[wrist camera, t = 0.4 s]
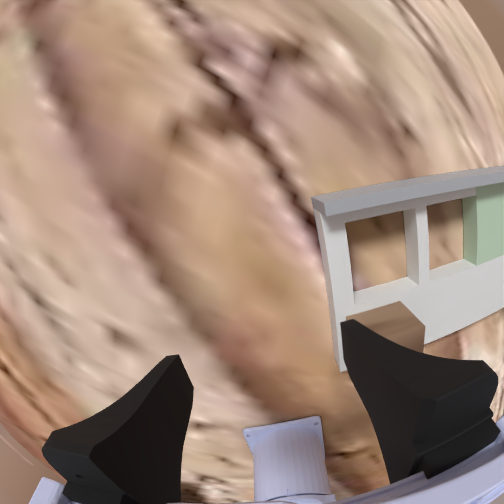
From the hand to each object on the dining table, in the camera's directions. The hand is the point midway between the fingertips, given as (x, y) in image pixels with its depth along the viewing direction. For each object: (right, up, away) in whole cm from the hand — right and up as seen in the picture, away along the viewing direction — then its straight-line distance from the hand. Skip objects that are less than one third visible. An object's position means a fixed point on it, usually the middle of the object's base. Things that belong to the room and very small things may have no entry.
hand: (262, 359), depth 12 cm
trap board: (+15, +4, +9) cm, 18 cm away
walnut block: (+9, -2, +8) cm, 12 cm away
